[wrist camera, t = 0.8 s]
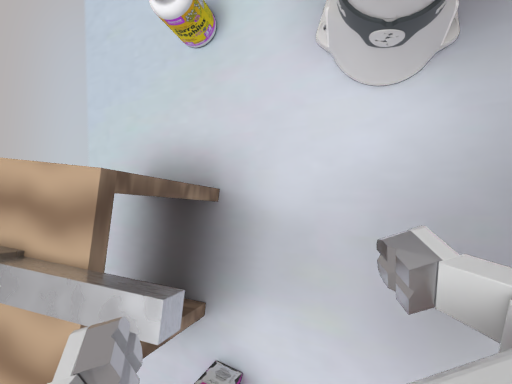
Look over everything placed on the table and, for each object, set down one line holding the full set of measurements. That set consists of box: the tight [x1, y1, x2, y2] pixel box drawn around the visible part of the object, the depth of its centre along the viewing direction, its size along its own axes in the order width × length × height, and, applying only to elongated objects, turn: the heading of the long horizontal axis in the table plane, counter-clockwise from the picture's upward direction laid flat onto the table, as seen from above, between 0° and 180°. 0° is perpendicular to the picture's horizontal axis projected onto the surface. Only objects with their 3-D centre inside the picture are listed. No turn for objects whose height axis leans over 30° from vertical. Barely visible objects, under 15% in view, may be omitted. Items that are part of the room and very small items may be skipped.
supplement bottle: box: [149, 0, 216, 48], centre depth 49 cm, size 7×7×13 cm
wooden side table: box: [0, 158, 220, 384], centre depth 42 cm, size 20×14×26 cm
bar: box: [0, 246, 185, 345], centre depth 26 cm, size 4×20×4 cm, turn 83°
